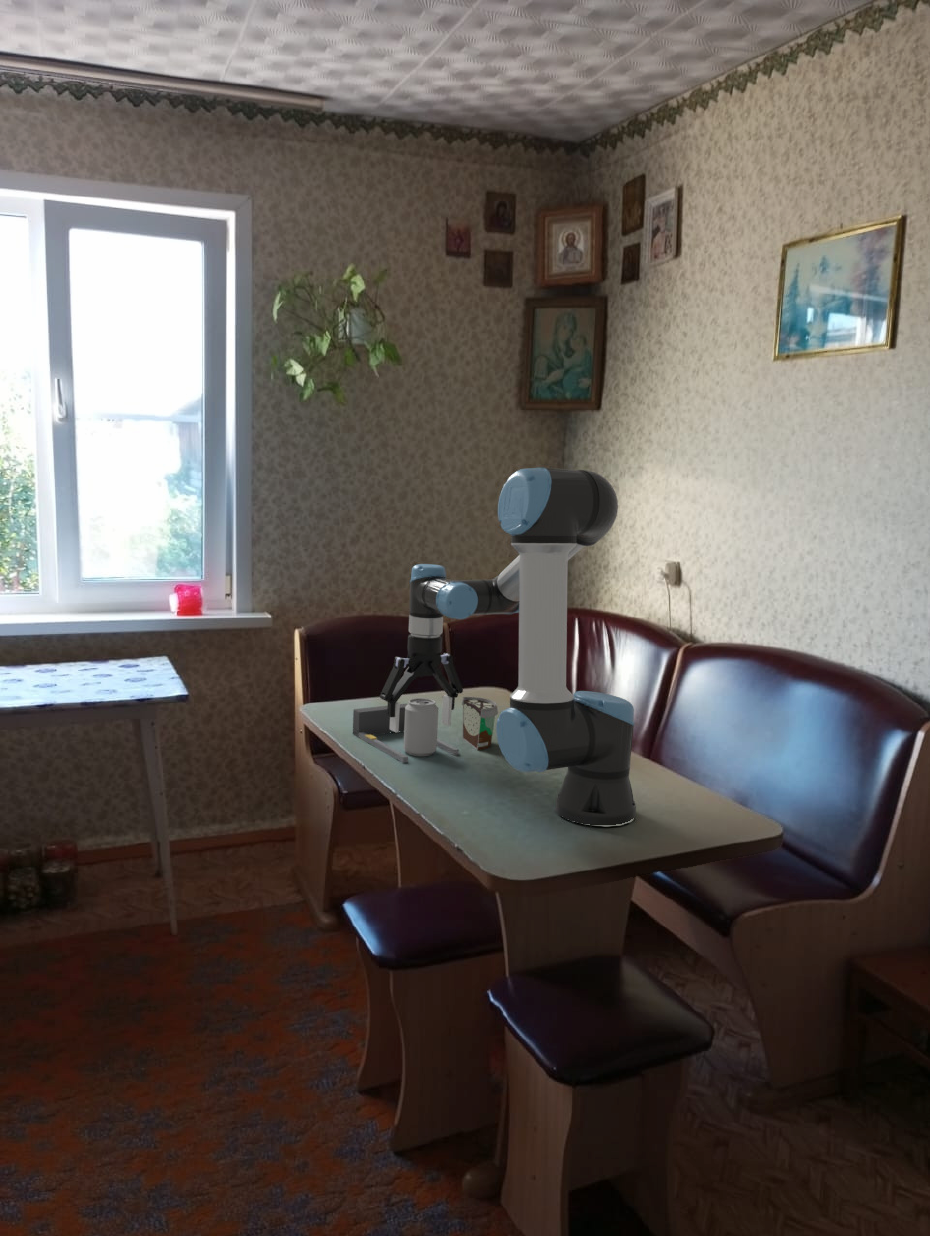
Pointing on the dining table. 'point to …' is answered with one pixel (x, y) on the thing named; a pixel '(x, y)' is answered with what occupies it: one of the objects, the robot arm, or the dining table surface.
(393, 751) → the guide channel
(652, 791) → the dining table surface
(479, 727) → the food container
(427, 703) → the can
